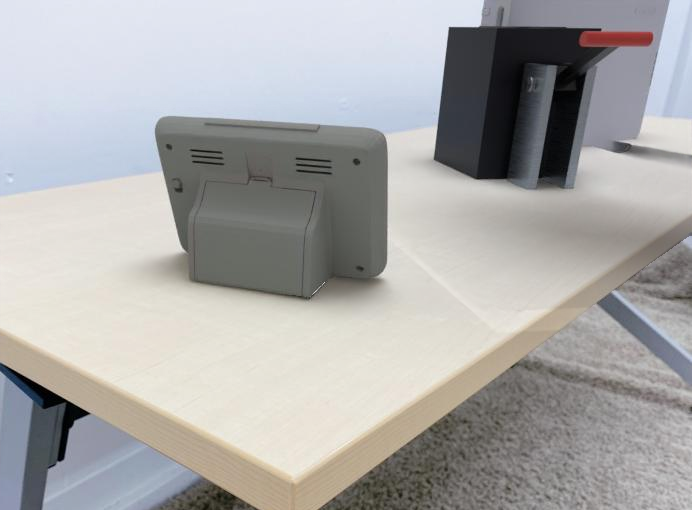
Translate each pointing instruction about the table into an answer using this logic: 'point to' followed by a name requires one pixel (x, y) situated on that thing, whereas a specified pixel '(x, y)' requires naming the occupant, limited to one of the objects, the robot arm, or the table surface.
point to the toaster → (493, 92)
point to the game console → (614, 70)
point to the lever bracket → (563, 132)
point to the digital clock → (276, 200)
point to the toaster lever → (595, 56)
